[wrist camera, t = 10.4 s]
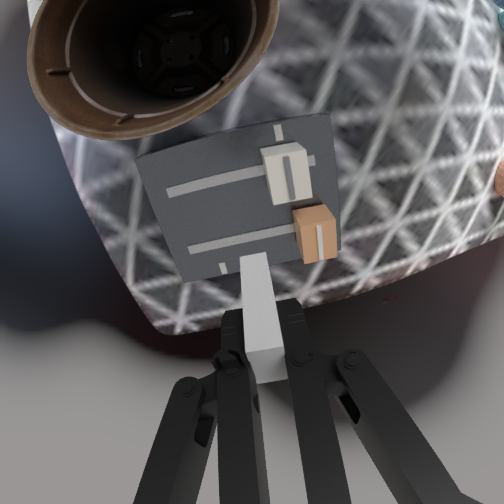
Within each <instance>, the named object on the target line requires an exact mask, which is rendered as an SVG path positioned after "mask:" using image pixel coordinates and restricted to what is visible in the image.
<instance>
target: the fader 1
mask: <svg viewBox="0 0 504 504" xmlns="http://www.w3.org/2000/svg"><path fill="white" fill-rule="evenodd" d="M260 151H261V156H262V161H263V166H264V171H265V175H266V180H267V185H268V190H269V194H270V196H271V199H272V202H273V205H278V204H282V203H287V202H292V201H297V200H302V199H308V198H313V197H312V189H311V181H310V173H309V166H308V159H307V152H306V149H305V148H303V147H302V146H301V145H300V144H299V143H297V142H294V143H288V144H282V145H277V146H271V147H266V148H261V149H260Z"/></svg>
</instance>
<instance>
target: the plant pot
mask: <svg viewBox="0 0 504 504" xmlns="http://www.w3.org/2000/svg"><path fill="white" fill-rule="evenodd" d="M279 4H280V0H43V2H42V4H41V6H40V8H39V10H38V12H37V14H36V16H35V19H34V22H33V24H32V27H31V31H30V36H29V40H28V47H27V68H28V76H29V80H30V84H31V87H32V90H33V92H34V95H35V97H36V99H37V100H38V102H39V103H40V105H41V106H42V108H43V109H44V110H45V111H46V113H47V114H48V115H49V116H50V117H52V118H53V119H54V120H55V121H56V122H57V123H59V124H60V125H62V126H63V127H65V128H67V129H68V130H70V131H73V132H75V133H77V134H80V135H83V136H86V137H90V138H94V139H100V140H130V139H136V138H142V137H147V136H151V135H155V134H158V133H161V132H164V131H167V130H170V129H172V128H175V127H177V126H179V125H181V124H183V123H186V122H188V121H190V120H192V119H194V118H195V117H197V116H199V115H201V114H202V113H204V112H205V111H207V110H209V109H210V108H211V107H213V106H214V105H216V104H217V103H218V102H220V101H221V100H222V99H224V98H225V97H226V96H227V95H228V94H230V93H231V92H232V91H233V90H234V89H235V88H236V87H237V86H238V85H239V84H240V83H241V82H242V81H244V79H245V78H246V77H247V76H248V75H249V74H250V73H251V71H252V70H253V69H254V67H255V66H256V65H257V64H258V62H259V61H260V59H261V58H262V56H263V54H264V53H265V51H266V50H267V48H268V46H269V44H270V41H271V39H272V37H273V35H274V32H275V29H276V25H277V22H278V17H279ZM183 11H193V14H191V15H187V14H186V15H182V16H175V17H170V16H171V15H172V14H174V13H177V12H183ZM192 35H193V36H195V39H194V40H190V39H189V37H190V36H192ZM223 36H228V39H229V52H228V55H226V56H225V55H224V42H223ZM169 38H170V39H172V42H171V43H167V39H169ZM139 48H141V50H142V53H141V55H142V56H141V57H142V59H141V60H142V63H143V65H142V67H141V68H139V67H138V64H137V52H138V49H139ZM191 55H194V56H195V59H194V60H190V59H189V56H191ZM168 58H171V59H172V62H171V63H167V59H168ZM190 85H194V86H195V88H194V89H193V90H191V91H185V92H181V91H179V92H175V91H172V89H173V88H177V87H186V86H190Z"/></svg>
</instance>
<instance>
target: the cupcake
mask: <svg viewBox="0 0 504 504" xmlns="http://www.w3.org/2000/svg"><path fill="white" fill-rule="evenodd" d="M498 17H499V22H500V25H501V27H502V29H503V30H504V11H503V12H501V13H499V16H498Z"/></svg>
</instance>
